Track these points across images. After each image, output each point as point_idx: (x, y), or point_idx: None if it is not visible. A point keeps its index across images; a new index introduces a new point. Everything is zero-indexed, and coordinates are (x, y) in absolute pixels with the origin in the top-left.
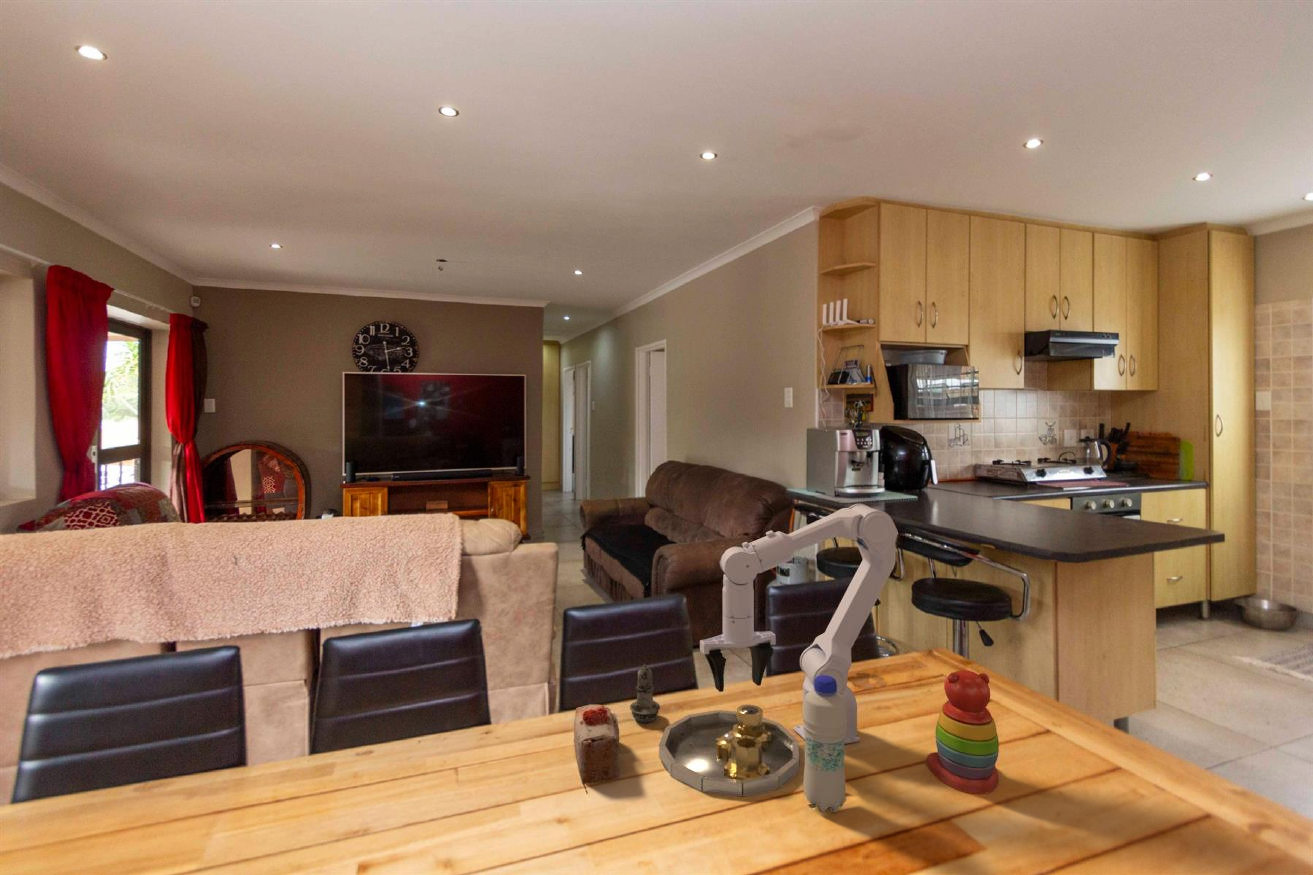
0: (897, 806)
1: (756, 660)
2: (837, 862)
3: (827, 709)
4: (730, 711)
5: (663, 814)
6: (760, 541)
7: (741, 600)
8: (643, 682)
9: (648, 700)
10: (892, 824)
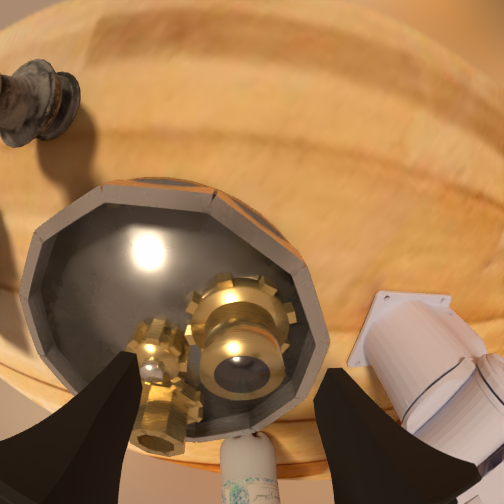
0: (316, 449)
1: (353, 479)
2: (199, 468)
3: None
4: (249, 224)
5: (46, 373)
6: None
7: None
8: None
9: (3, 124)
10: (285, 460)
